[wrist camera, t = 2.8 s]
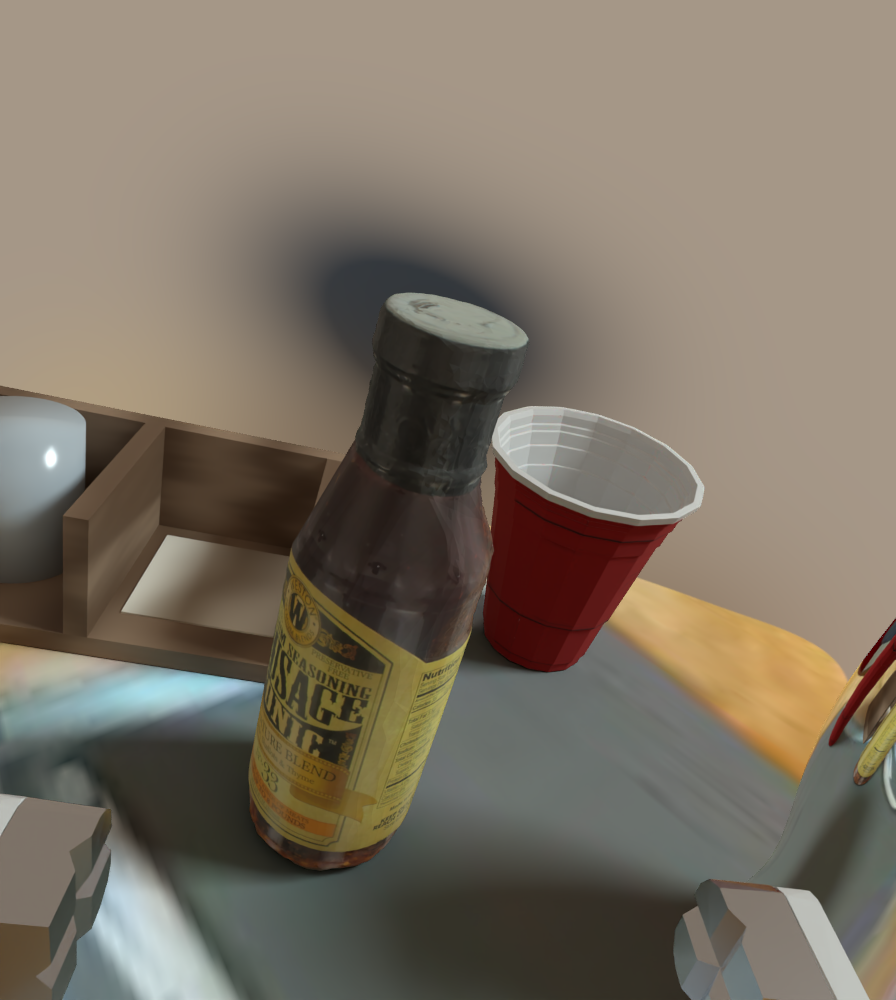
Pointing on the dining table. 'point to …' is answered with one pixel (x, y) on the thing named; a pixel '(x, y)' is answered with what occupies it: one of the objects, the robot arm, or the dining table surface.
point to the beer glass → (851, 822)
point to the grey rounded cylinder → (37, 484)
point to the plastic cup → (573, 527)
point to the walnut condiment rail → (172, 545)
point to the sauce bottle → (383, 588)
